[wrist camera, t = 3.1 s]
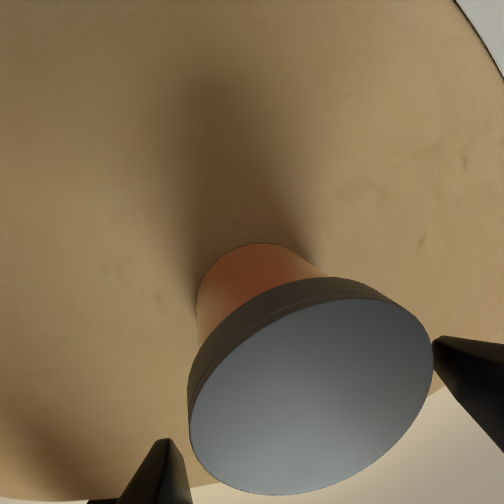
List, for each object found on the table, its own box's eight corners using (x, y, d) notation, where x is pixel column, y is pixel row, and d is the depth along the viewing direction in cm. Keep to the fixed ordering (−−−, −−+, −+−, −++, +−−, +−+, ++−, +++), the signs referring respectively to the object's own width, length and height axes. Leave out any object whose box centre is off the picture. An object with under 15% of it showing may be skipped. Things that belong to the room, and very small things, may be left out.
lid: (402, 416, 10) (424, 441, 9) (229, 482, 9) (236, 516, 8) (398, 243, 8) (435, 257, 7) (148, 323, 8) (140, 356, 6)
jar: (326, 336, 16) (409, 431, 9) (217, 372, 16) (243, 497, 8) (305, 227, 15) (412, 276, 7) (178, 264, 14) (171, 359, 7)
